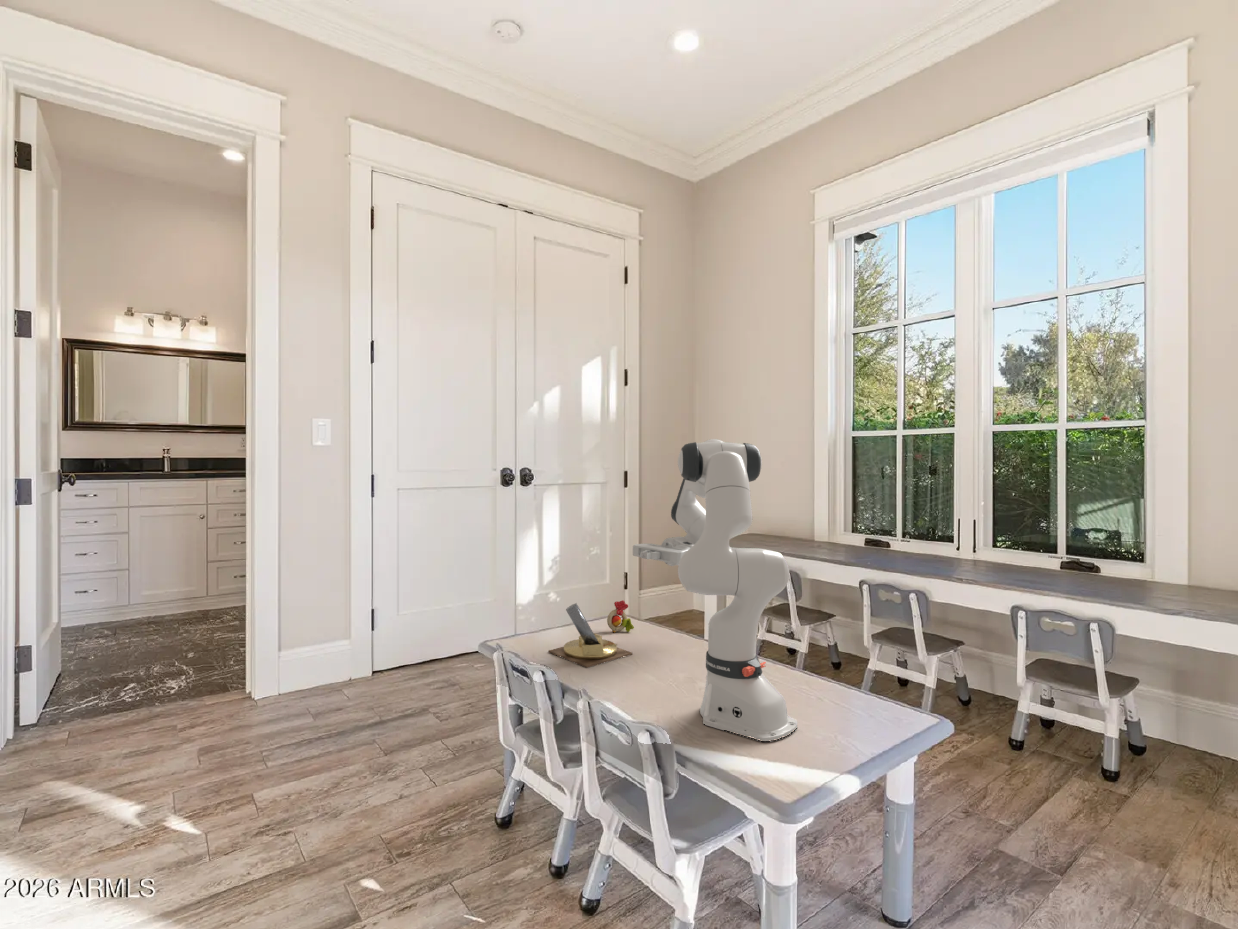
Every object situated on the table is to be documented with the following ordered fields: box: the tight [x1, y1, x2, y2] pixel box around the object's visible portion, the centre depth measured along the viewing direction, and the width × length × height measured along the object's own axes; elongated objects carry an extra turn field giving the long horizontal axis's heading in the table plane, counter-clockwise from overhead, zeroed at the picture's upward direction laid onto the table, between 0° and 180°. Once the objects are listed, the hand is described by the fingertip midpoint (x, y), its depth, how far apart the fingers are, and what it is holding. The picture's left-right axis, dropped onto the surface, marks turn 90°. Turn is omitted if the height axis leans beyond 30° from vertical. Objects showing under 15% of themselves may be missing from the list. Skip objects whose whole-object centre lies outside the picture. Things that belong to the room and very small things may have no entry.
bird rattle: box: [606, 600, 635, 633], centre depth 213 cm, size 6×11×9 cm
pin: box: [565, 602, 599, 645], centre depth 183 cm, size 4×4×14 cm
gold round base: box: [563, 632, 618, 660], centre depth 189 cm, size 17×16×4 cm
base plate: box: [547, 646, 633, 669], centre depth 189 cm, size 18×18×1 cm
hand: (643, 555), depth 188 cm, fingers closed
